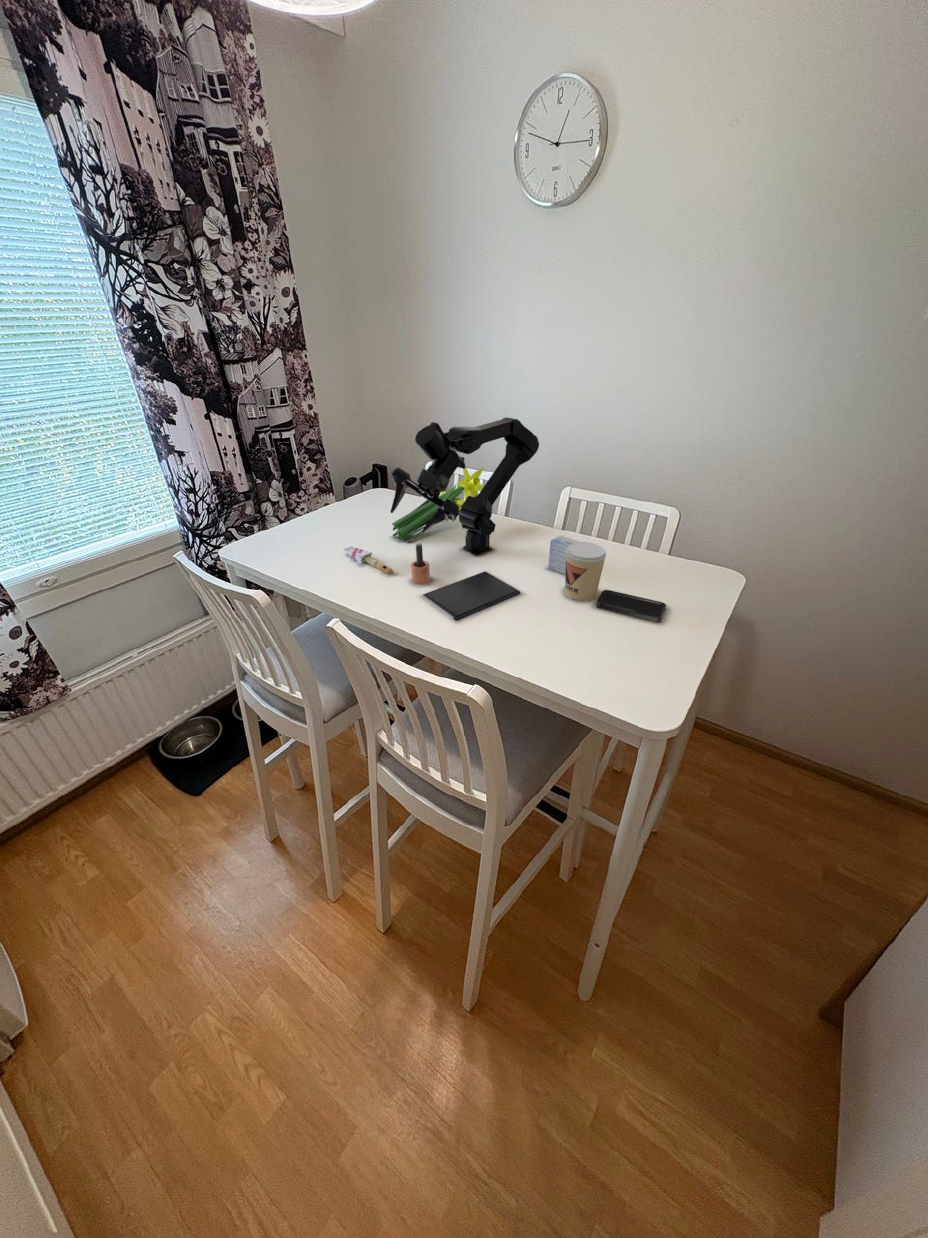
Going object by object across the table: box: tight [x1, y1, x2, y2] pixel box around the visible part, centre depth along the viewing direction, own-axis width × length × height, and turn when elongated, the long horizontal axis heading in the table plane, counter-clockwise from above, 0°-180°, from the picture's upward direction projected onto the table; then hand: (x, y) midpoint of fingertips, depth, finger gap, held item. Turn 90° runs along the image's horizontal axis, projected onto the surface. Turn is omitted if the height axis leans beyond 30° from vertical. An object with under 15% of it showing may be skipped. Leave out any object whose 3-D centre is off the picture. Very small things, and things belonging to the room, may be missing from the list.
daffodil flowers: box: [391, 465, 485, 543], centre depth 156 cm, size 17×15×35 cm
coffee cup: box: [564, 541, 607, 602], centre depth 119 cm, size 9×9×12 cm
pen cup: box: [410, 560, 431, 585], centre depth 127 cm, size 5×5×5 cm
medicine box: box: [547, 534, 581, 575], centre depth 131 cm, size 8×4×9 cm, turn 47°
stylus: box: [415, 541, 424, 567], centre depth 125 cm, size 2×2×10 cm
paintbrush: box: [343, 545, 394, 575], centre depth 137 cm, size 4×3×20 cm
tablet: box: [422, 571, 521, 622], centre depth 122 cm, size 20×14×1 cm
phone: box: [595, 589, 667, 623], centre depth 116 cm, size 8×1×15 cm
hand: (406, 522), depth 121 cm, fingers open, 9 cm apart
